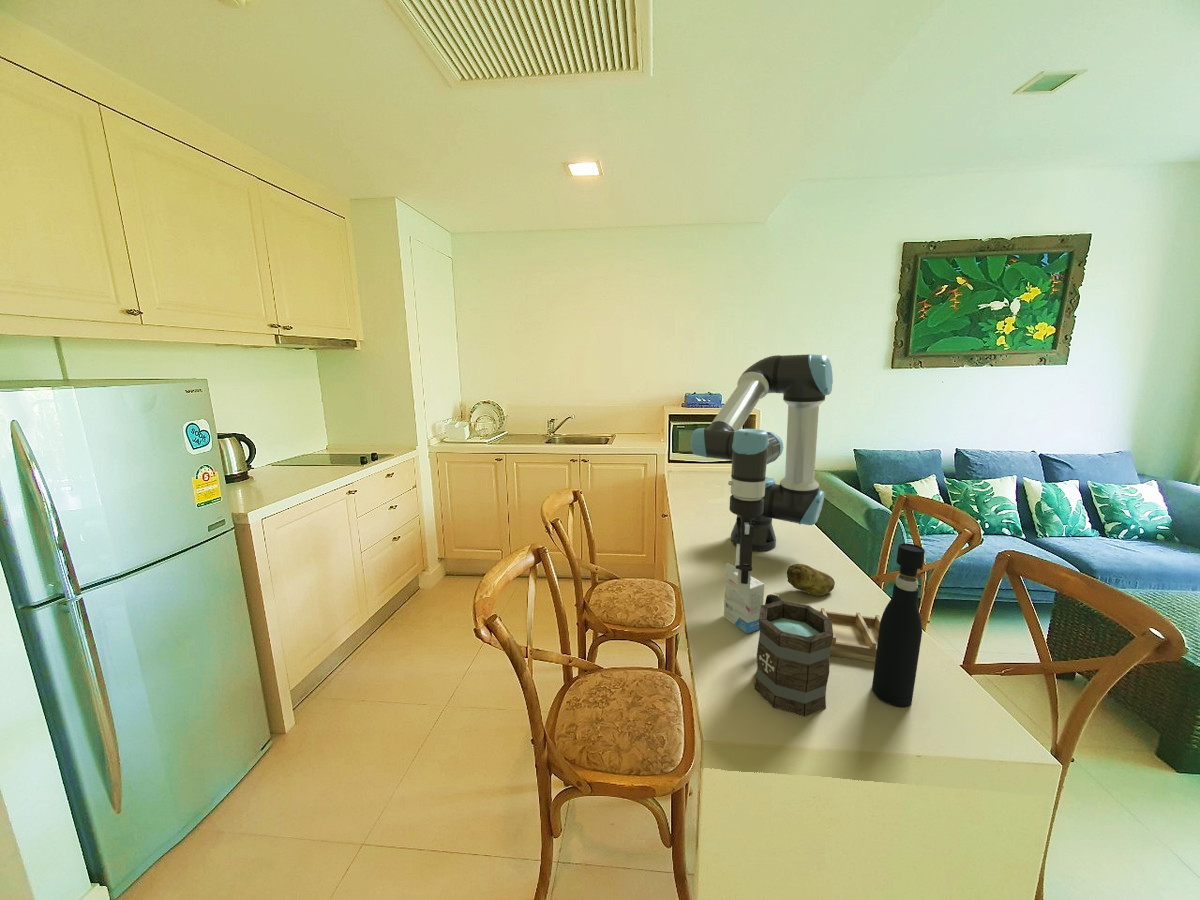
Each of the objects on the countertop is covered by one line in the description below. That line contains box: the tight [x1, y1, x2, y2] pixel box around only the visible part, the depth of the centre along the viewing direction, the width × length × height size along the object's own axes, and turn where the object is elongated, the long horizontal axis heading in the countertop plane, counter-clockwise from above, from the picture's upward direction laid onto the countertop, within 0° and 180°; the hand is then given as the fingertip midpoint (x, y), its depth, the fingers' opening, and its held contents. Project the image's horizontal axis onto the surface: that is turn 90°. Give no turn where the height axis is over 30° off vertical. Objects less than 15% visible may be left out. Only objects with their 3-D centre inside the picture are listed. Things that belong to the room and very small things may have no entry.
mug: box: [754, 593, 833, 718], centre depth 86 cm, size 20×14×15 cm
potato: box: [786, 563, 836, 596], centre depth 119 cm, size 8×13×8 cm, turn 76°
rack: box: [816, 607, 882, 663], centre depth 99 cm, size 13×20×4 cm, turn 74°
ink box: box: [723, 562, 765, 634], centre depth 105 cm, size 8×5×15 cm, turn 26°
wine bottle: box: [871, 542, 926, 708], centre depth 80 cm, size 6×6×30 cm
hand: (741, 581), depth 105 cm, fingers open, 13 cm apart
